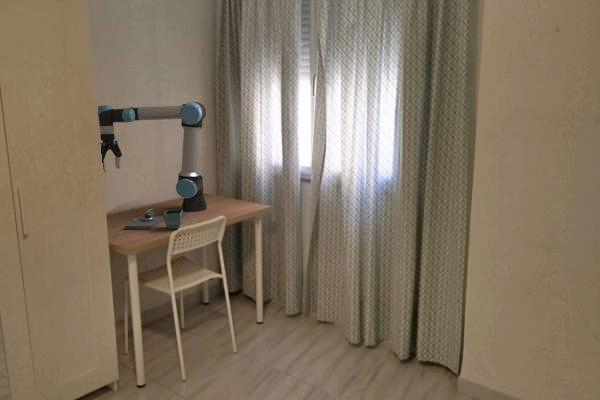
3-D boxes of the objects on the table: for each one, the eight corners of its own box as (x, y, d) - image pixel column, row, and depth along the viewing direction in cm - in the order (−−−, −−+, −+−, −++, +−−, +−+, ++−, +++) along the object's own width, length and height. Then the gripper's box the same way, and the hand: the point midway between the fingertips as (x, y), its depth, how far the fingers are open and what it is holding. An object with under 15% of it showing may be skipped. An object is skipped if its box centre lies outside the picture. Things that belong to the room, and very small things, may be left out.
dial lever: (151, 221, 273) (150, 213, 272) (140, 221, 273) (139, 213, 272) (158, 215, 284) (157, 208, 283) (147, 215, 284) (147, 208, 283)
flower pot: (167, 226, 271) (166, 209, 269) (183, 225, 272) (182, 209, 270) (164, 230, 263) (163, 214, 261) (181, 230, 264) (180, 213, 262)
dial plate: (163, 219, 284) (163, 216, 283) (151, 229, 264) (150, 225, 264) (138, 219, 284) (138, 215, 284) (125, 229, 265) (124, 225, 264)
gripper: (114, 131, 298) (118, 166, 302) (86, 135, 274) (91, 173, 279) (126, 131, 296) (129, 166, 300) (98, 135, 272) (102, 174, 277)
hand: (111, 170), depth 290 cm, fingers open, 13 cm apart
